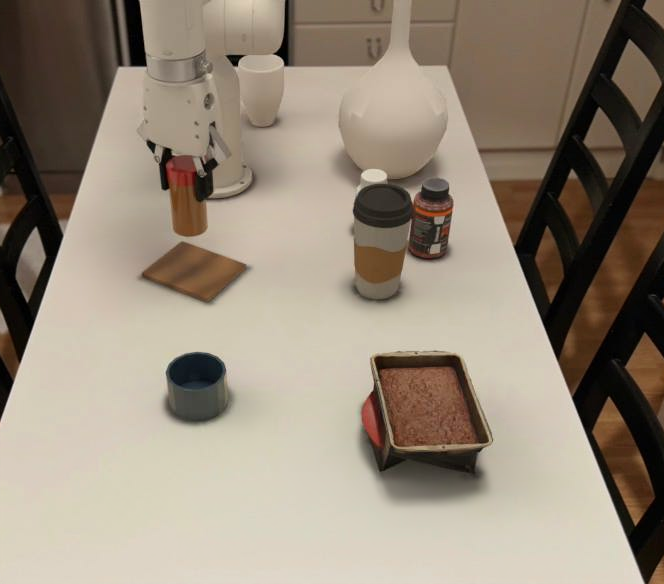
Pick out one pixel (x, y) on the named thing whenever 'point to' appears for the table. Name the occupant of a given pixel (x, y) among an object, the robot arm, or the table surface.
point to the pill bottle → (371, 179)
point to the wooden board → (194, 271)
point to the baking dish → (424, 411)
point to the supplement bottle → (431, 219)
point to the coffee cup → (380, 238)
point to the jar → (185, 197)
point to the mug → (261, 87)
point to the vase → (393, 109)
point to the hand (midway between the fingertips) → (187, 190)
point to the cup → (197, 385)
